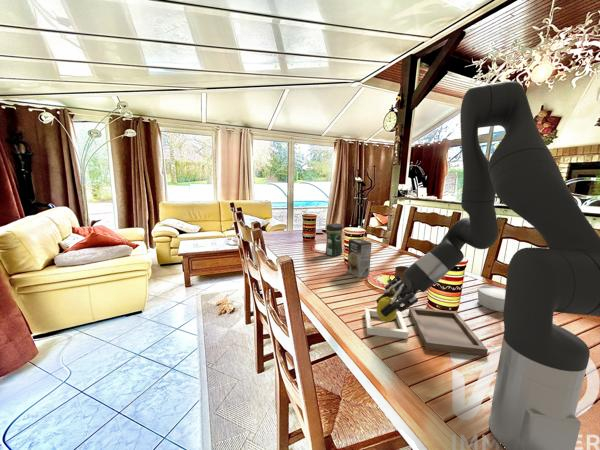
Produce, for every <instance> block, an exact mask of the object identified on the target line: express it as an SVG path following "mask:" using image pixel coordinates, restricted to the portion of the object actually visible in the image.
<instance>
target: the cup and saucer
mask: <svg viewBox="0 0 600 450" xmlns="http://www.w3.org/2000/svg"><path fill="white" fill-rule="evenodd" d="M409 267H410V266H403V265H399V266H396V267H394V269H395V270H394V271H395V272H394V273H392V274H390V275H389V276H388V279H389V280H390V282H391V281H392V280H391V279H390V276H391V275H395V277H396V276H399V277H400V278H401V279H402V278H404V277H405V276H406V275H405V274H404V271H405V270H406V269H407V268H409Z"/></svg>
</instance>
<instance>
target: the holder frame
mask: <svg viewBox="0 0 600 450" xmlns="http://www.w3.org/2000/svg"><path fill="white" fill-rule="evenodd" d="M371 317H372V318H379V316H378V314H377V308H366V307H365V308H364V318H365V328H366V334H367V335H369V336H370V335H371V336H378V337H387V338H395V339H396V338H397V339H404V340H409V333H410V331H409V330H408V327H407V324H406V323H405V320H404V317H403V315H402V312H400V311H398V310H396V316H395V318H394V319H393V320H396V322H397V324H398V326H399V328H393V327H384V326H375V325H372V319H371Z"/></svg>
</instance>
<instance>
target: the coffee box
mask: <svg viewBox="0 0 600 450" xmlns="http://www.w3.org/2000/svg"><path fill="white" fill-rule="evenodd" d="M347 252H348V253H347V272H348V273H349V274H351V275H352V276H354V277H356V278H358V279H362V278H366V277H367V278H368V277H369V276H370V269H371V256H372V242H370V241H368V240H365V239H362V238H359V237H358V238H349V239H348V248H347ZM368 275H369V276H368Z"/></svg>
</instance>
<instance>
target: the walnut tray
mask: <svg viewBox="0 0 600 450" xmlns="http://www.w3.org/2000/svg"><path fill="white" fill-rule="evenodd" d="M408 314H409V317H410V319H411V320H412V323H413V325H414V326H415V327H414V328H415V329H416V331H417V334H418V335H419V338H420V339H421V342H422V344H423V346H424V348H425V350H429V351H437V352H445V353H451V354H452V353H453V354H454V353H455V354H460V355H462V354H463V355H469V356H477V357H478V356H479V357H488V351H489V349H488V348H487V347H486V345H485V344H484V343H483V342H482V341H481V340H480V339H479V337H478V335H476V334H475V332H474V331H473V330H472V329H471V327H470V326H469V325H468V324H467V323H466V322H465V320H464V319H463V317H461V316H460V315H459V313H458V312H457V311H455V310H454V311H453V310H441V309H430V308H421V307H411V306H410V307H408Z"/></svg>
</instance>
